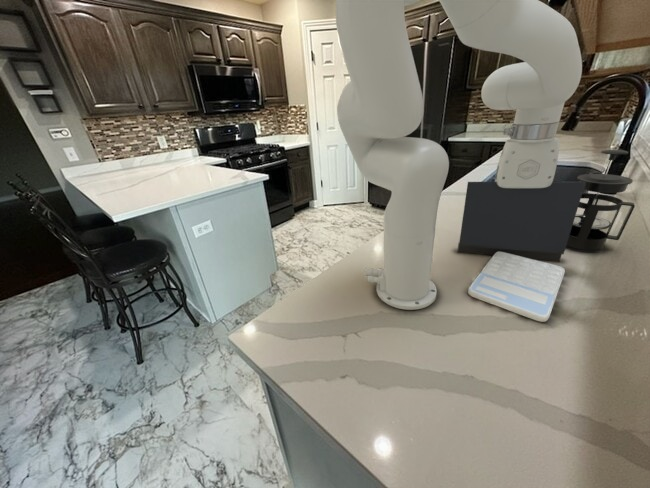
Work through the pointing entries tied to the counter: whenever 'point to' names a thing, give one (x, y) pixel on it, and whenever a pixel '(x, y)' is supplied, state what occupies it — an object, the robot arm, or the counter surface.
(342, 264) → the counter surface
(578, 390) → the counter surface
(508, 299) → the calculator
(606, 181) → the french press
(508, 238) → the cover
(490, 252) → the hinge strip
